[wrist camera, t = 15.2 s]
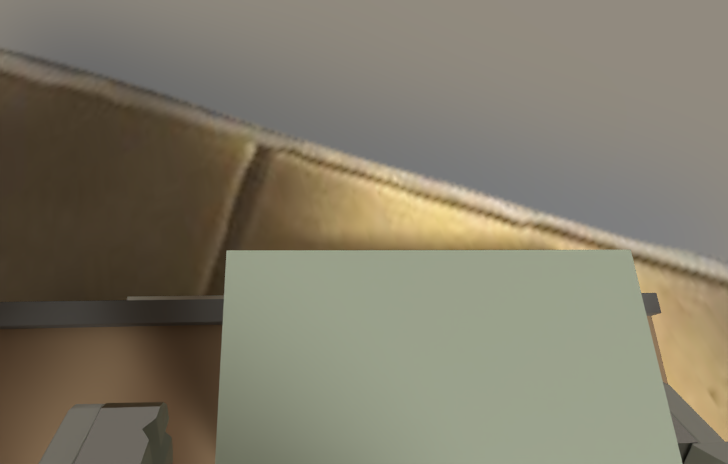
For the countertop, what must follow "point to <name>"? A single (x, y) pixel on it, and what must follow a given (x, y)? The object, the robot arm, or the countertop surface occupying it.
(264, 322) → the sage carton
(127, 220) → the countertop surface
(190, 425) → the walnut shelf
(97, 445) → the robot arm
